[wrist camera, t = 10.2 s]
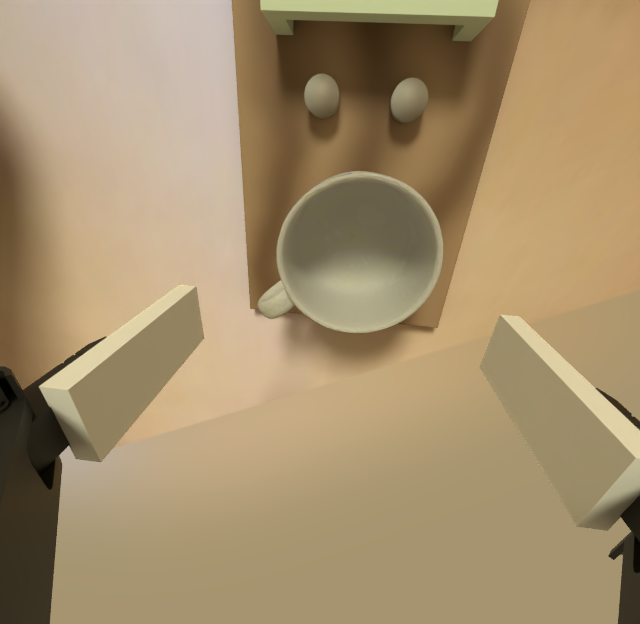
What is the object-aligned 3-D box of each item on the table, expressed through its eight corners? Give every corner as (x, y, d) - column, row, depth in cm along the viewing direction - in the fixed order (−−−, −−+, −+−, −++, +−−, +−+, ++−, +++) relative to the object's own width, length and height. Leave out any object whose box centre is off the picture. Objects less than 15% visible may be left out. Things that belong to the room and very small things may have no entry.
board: (253, 303, 31) (245, 315, 29) (232, -97, 18) (214, -135, 16) (434, 321, 30) (441, 335, 28) (549, -96, 17) (580, -137, 15)
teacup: (402, 145, 22) (424, 138, 15) (432, 273, 27) (460, 314, 19) (245, 212, 26) (203, 231, 19) (293, 315, 30) (274, 362, 23)
